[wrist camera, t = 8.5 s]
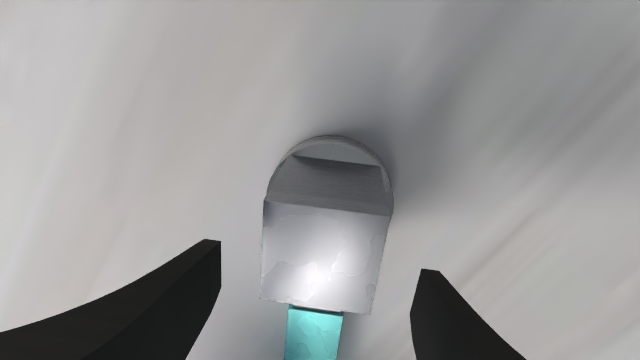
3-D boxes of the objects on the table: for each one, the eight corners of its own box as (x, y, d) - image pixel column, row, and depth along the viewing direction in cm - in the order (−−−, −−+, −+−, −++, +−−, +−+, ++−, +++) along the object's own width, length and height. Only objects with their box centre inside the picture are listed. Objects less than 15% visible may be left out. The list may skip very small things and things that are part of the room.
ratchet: (355, 369, 24) (356, 430, 20) (264, 355, 24) (247, 412, 20) (400, 143, 17) (413, 172, 14) (275, 128, 18) (254, 152, 14)
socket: (366, 244, 18) (370, 314, 14) (283, 232, 18) (259, 298, 14) (380, 166, 16) (390, 216, 12) (288, 154, 17) (263, 200, 12)
